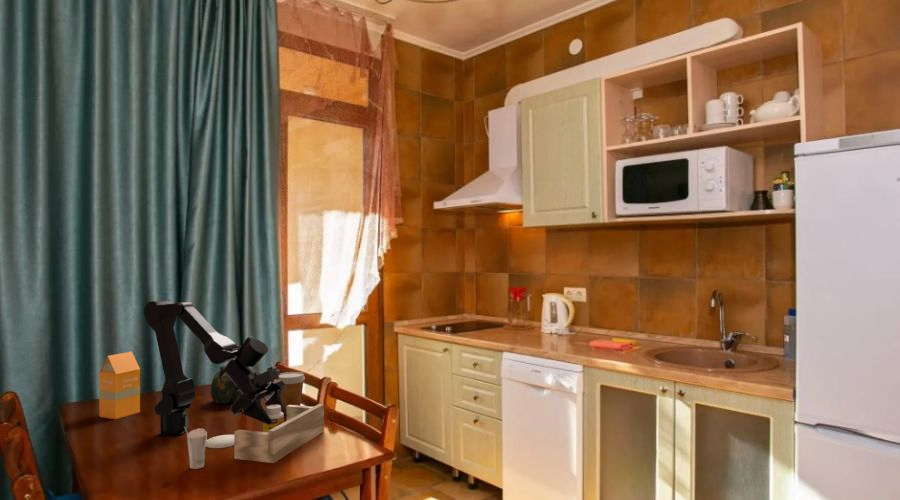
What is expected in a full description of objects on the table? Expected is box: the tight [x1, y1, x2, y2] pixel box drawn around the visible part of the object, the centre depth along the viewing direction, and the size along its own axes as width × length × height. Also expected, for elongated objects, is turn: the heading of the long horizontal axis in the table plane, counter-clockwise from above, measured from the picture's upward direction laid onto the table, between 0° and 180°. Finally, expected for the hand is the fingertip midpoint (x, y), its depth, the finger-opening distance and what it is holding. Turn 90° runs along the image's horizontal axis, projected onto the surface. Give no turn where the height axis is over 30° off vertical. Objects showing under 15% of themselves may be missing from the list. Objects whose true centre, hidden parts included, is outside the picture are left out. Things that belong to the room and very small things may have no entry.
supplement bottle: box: [262, 405, 285, 432], centre depth 153 cm, size 6×6×10 cm
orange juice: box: [98, 351, 141, 420], centre depth 181 cm, size 8×9×20 cm
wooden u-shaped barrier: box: [233, 403, 325, 464], centre depth 152 cm, size 12×26×8 cm, turn 164°
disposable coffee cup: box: [275, 371, 306, 414], centre depth 184 cm, size 10×10×12 cm
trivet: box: [206, 434, 234, 449], centre depth 154 cm, size 10×10×1 cm
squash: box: [210, 370, 242, 405], centre depth 196 cm, size 14×15×15 cm
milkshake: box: [184, 427, 208, 470], centre depth 136 cm, size 4×5×10 cm
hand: (277, 419), depth 152 cm, fingers open, 7 cm apart
